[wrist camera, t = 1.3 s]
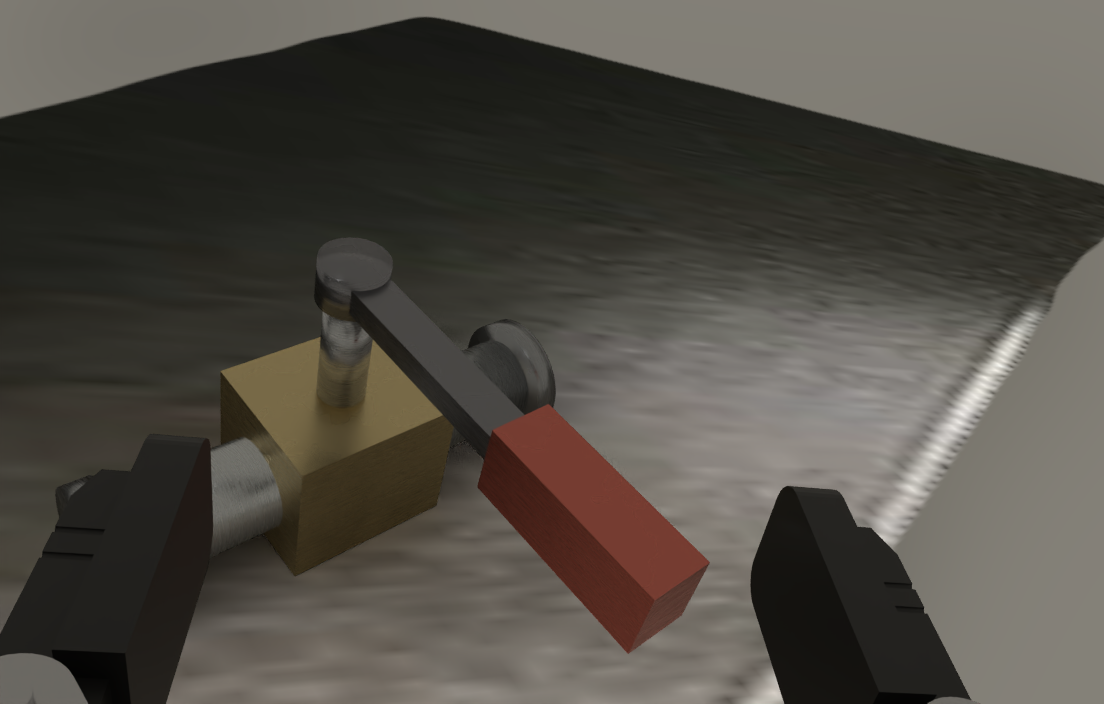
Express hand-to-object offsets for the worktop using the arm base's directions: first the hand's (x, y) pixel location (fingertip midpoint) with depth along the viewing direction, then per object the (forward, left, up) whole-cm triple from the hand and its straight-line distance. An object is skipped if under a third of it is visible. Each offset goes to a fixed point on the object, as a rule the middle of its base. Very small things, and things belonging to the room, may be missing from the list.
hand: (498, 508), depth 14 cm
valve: (-6, +23, -28) cm, 36 cm away
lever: (0, +17, -16) cm, 23 cm away
